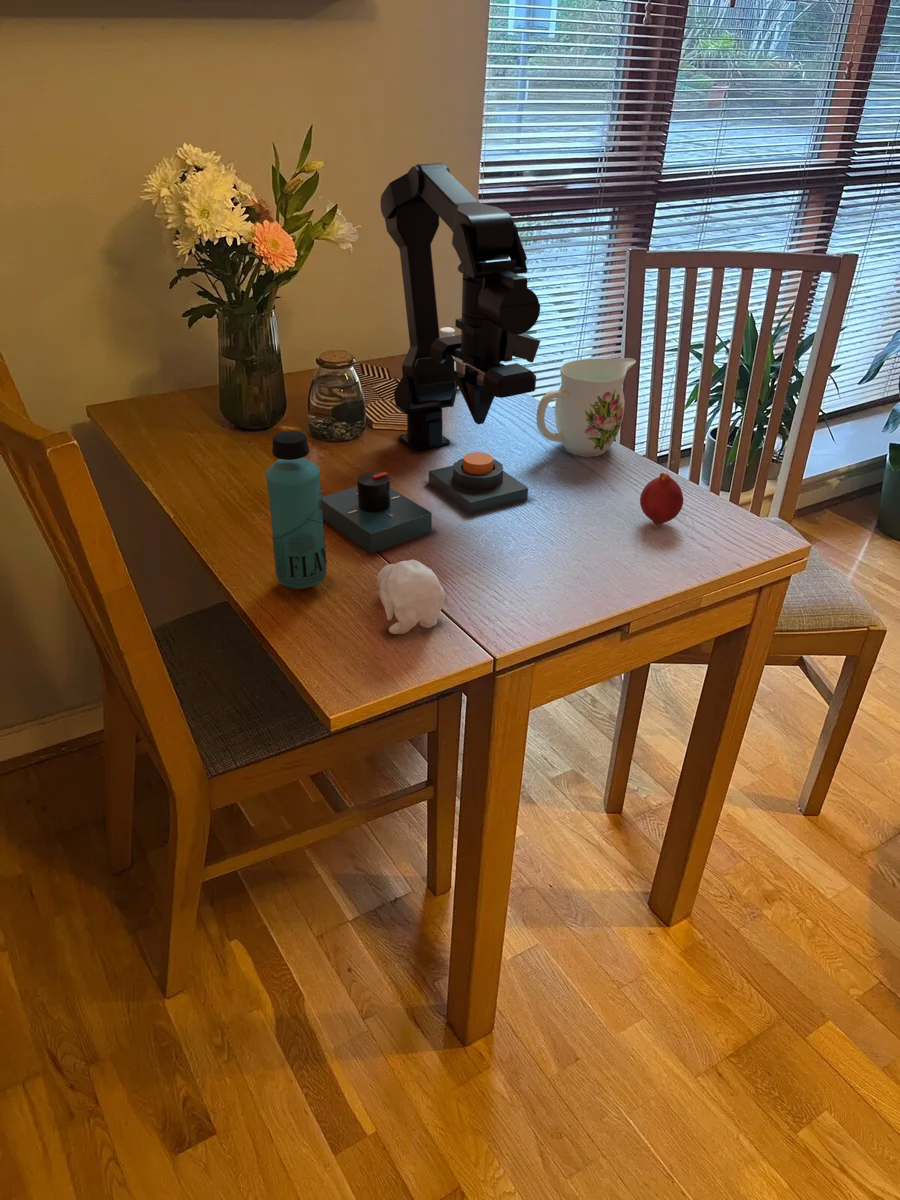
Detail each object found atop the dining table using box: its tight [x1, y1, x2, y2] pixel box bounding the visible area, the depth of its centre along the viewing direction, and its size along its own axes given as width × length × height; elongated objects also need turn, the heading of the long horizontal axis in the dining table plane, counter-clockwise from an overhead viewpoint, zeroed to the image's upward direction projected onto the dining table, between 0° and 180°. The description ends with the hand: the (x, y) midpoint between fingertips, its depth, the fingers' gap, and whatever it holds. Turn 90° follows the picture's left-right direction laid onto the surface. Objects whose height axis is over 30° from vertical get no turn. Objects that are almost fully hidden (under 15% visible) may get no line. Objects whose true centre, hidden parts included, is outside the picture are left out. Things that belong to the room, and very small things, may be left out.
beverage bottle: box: [265, 430, 329, 589], centre depth 109 cm, size 6×7×20 cm
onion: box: [639, 471, 684, 526], centre depth 127 cm, size 6×6×8 cm
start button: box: [462, 451, 494, 474], centre depth 135 cm, size 4×4×2 cm
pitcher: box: [536, 357, 637, 457], centre depth 147 cm, size 11×18×14 cm, turn 119°
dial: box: [356, 471, 391, 512], centre depth 126 cm, size 4×4×4 cm
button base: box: [428, 458, 529, 516], centre depth 136 cm, size 12×10×4 cm
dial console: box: [321, 485, 433, 555], centre depth 128 cm, size 13×10×3 cm
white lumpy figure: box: [374, 559, 445, 635], centre depth 107 cm, size 6×8×12 cm
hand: (479, 423), depth 132 cm, fingers closed
